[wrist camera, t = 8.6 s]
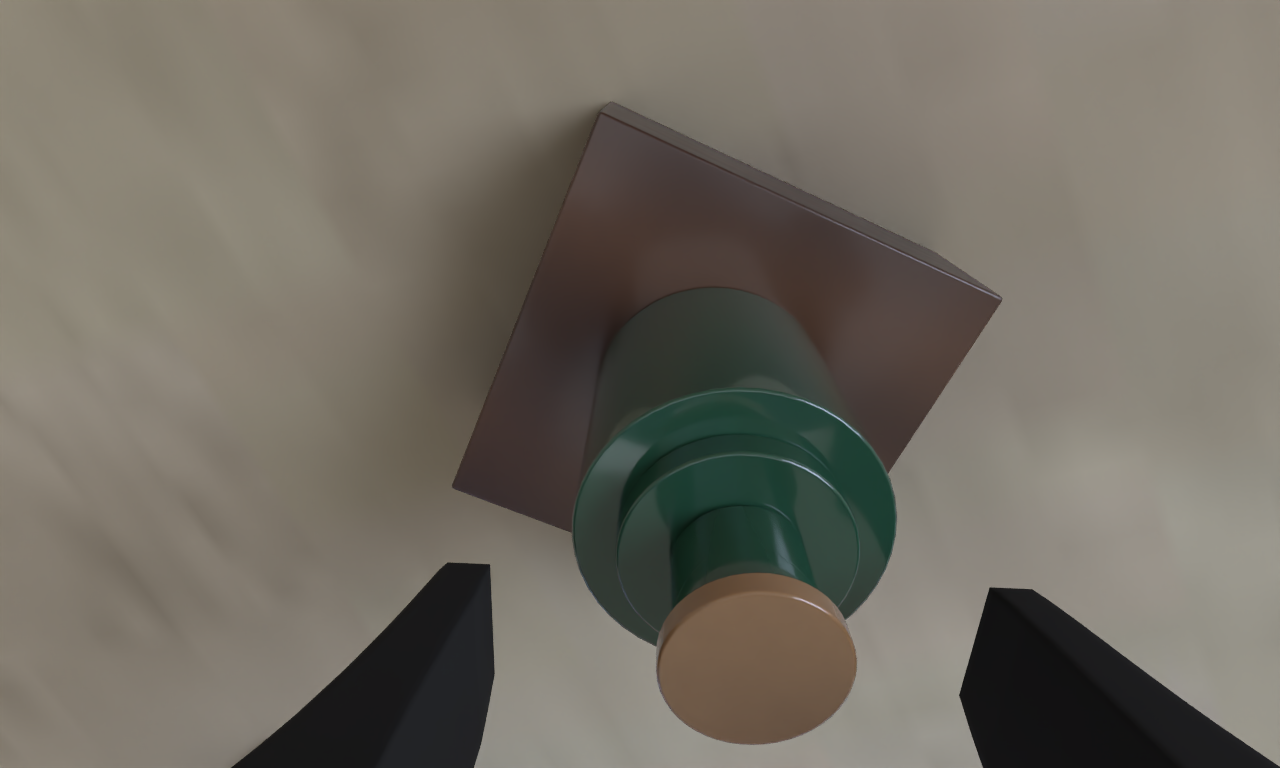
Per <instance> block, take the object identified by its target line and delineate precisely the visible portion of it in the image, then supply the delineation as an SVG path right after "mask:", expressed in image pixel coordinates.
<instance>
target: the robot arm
mask: <svg viewBox="0 0 1280 768" xmlns="http://www.w3.org/2000/svg"><path fill="white" fill-rule="evenodd" d="M494 674H495V673H494V649H493V625H492V601H491V577H490V564H469V563H447V564H445V565H444V566H443V567H442V568H441V569H440V570H439V571H438V572H437V573H436V574H435V575H434V576H433V577H432V579H431V580H430V581H429V582H428V583H427V584H426V585H425V586H424V588H423V589H422V590H421V591H420V592H419V593H418V594H417V595H416V596H415V597H414V599H413V600H412V601H411V602H410V603H409V604H408V605H407V606H406V607H405V608H404V609H403V610H402V612H401V613H400V614H399V615H398V616H397V617H396V618H395V619H394V620H393V621H392V622H391V623H390V624H389V625H388V626H387V628H386V629H385V630H384V631H383V632H382V633H381V634H380V635H379V636H378V637H377V638H376V639H375V640H374V641H373V642H372V643H371V644H370V645H369V646H368V647H367V648H366V649H365V650H364V651H363V652H362V653H361V654H360V655H359V656H358V657H357V658H356V659H355V660H354V661H353V662H352V663H351V664H350V665H349V666H348V667H347V668H346V669H345V670H344V671H343V672H342V673H341V674H339V675H338V676H337V677H336V678H335V679H334V680H333V681H332V682H331V683H330V684H329V685H327V686H326V687H325V688H324V689H323V690H322V691H321V692H320V693H319V694H318V695H317V696H316V697H314V698H313V699H312V700H311V701H310V702H309V703H308V704H307V705H306V706H305V707H304V708H302V709H301V710H300V711H299V712H298V713H297V714H296V715H295V716H294V717H292V718H291V719H290V720H289V721H288V722H287V723H285V724H284V725H283V726H282V727H281V728H279V729H278V730H277V731H276V732H275V733H274V734H272V735H271V736H270V737H269V738H268V739H266V740H265V741H264V742H263V743H262V744H260V745H259V746H258V747H257V748H255V749H254V750H253V751H252V752H250V753H249V754H248V755H247V756H245V757H244V758H243V759H242V760H240V761H239V762H238V763H236V764H235V765H234V766H233V767H231V768H474V765H475V762H476V759H477V755H478V752H479V749H480V745H481V742H482V737H483V732H484V727H485V722H486V717H487V712H488V706H489V701H490V696H491V690H492V685H493V680H494ZM959 696H960V699H961V702H962V705H963V709H964V712H965V715H966V718H967V722H968V725H969V728H970V731H971V734H972V737H973V740H974V743H975V746H976V749H977V752H978V755H979V758H980V760H981V763H982V766H983V768H1280V767H1279V766H1278V765H1276V764H1275V763H1273V762H1272V761H1270V760H1269V759H1267V758H1266V757H1264V756H1263V755H1261V754H1260V753H1259V752H1257V751H1256V750H1254V749H1253V748H1251V747H1250V746H1248V745H1247V744H1245V743H1244V742H1242V741H1241V740H1239V739H1238V738H1236V737H1235V736H1234V735H1232V734H1231V733H1229V732H1228V731H1226V730H1225V729H1223V728H1222V727H1220V726H1219V725H1217V724H1216V723H1215V722H1213V721H1212V720H1210V719H1209V718H1208V717H1206V716H1205V715H1203V714H1202V713H1201V712H1199V711H1198V710H1196V709H1195V708H1194V707H1192V706H1191V705H1189V704H1188V703H1187V702H1185V701H1184V700H1182V699H1181V698H1180V697H1178V696H1177V695H1176V694H1174V693H1173V692H1171V691H1170V690H1169V689H1167V688H1166V687H1165V686H1163V685H1162V684H1161V683H1159V682H1158V681H1156V680H1155V679H1154V678H1152V677H1151V676H1150V675H1148V674H1147V673H1146V672H1144V671H1143V670H1142V669H1140V668H1139V667H1138V666H1136V665H1135V664H1134V663H1132V662H1131V661H1130V660H1128V659H1127V658H1126V657H1124V656H1123V655H1122V654H1120V653H1119V652H1118V651H1116V650H1115V649H1114V648H1112V647H1111V646H1110V645H1108V644H1107V643H1106V642H1104V641H1103V640H1102V639H1100V638H1099V637H1098V636H1096V635H1095V634H1094V633H1092V632H1091V631H1090V630H1088V629H1087V628H1086V627H1084V626H1083V625H1082V624H1080V623H1079V622H1078V621H1076V620H1075V619H1074V618H1072V617H1071V616H1070V615H1068V614H1067V613H1066V612H1064V611H1063V610H1061V609H1060V608H1059V607H1057V606H1056V605H1054V604H1053V603H1052V602H1050V601H1049V600H1047V599H1046V598H1044V597H1043V596H1041V595H1040V594H1038V593H1037V592H1035V591H1034V590H1032V589H1012V588H989V592H988V595H987V599H986V602H985V606H984V610H983V613H982V617H981V620H980V624H979V627H978V631H977V634H976V638H975V641H974V645H973V648H972V652H971V656H970V659H969V663H968V666H967V670H966V673H965V677H964V680H963V684H962V687H961V691H960V694H959Z"/></svg>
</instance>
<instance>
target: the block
mask: <svg viewBox="0 0 1280 768" xmlns="http://www.w3.org/2000/svg"><path fill="white" fill-rule="evenodd" d="M711 287H714V288H730V289H735V290H741V291H745V292H749V293H752V294H755V295H758V296H760V297H762V298H765V299H767V300H769V301H771V302H773V303H775V304H776V305H778V306H779V307H781V308H782V309H784V310H785V311H787V312H788V313H789V314H790V315H791V316H792V317H794V318H795V319H796V320H797V321H798V322H799V323H800V325H801V326H802V327H803V328H804V329H805V330H806V332H807V333H808V335H809V336H810V338H811V339H812V341H813V342H814V344H815V346H816V347H817V349H818V351H819V353H820V354H821V356H822V358H823V360H824V361H825V363H826V365H827V367H828V368H829V370H830V372H831V374H832V375H833V377H834V379H835V380H836V382H837V384H838V386H839V387H840V389H841V391H842V393H843V394H844V396H845V398H846V400H847V401H848V403H849V405H850V407H851V408H852V410H853V412H854V414H855V415H856V417H857V419H858V420H859V422H860V424H861V426H862V427H863V429H864V431H865V433H866V434H867V436H868V438H869V440H870V441H871V443H872V445H873V447H874V448H875V450H876V452H877V454H878V455H879V457H880V459H881V461H882V462H883V464H884V467H885V469H886V471H887V473H889V471H890V470H891V468H892V467H893V465H894V464H895V462H896V461H897V459H898V458H899V456H900V455H901V453H902V452H903V450H904V448H905V447H906V445H907V444H908V442H909V441H910V439H911V438H912V436H913V435H914V433H915V432H916V430H917V429H918V427H919V426H920V424H921V423H922V421H923V420H924V418H925V417H926V415H927V414H928V412H929V411H930V409H931V408H932V406H933V404H934V403H935V401H936V400H937V398H938V397H939V395H940V394H941V392H942V391H943V389H944V388H945V386H946V385H947V383H948V382H949V380H950V379H951V377H952V376H953V374H954V373H955V371H956V370H957V368H958V367H959V365H960V364H961V362H962V361H963V359H964V357H965V356H966V354H967V353H968V351H969V350H970V348H971V347H972V345H973V344H974V342H975V341H976V339H977V338H978V336H979V335H980V333H981V332H982V330H983V329H984V327H985V326H986V324H987V323H988V321H989V320H990V318H991V317H992V315H993V313H994V312H995V310H996V309H997V307H998V306H999V304H1000V303H1001V301H1002V297H1001V296H999V295H998V294H996V293H995V292H993V291H992V290H991V289H989V288H988V287H986V286H985V285H983V284H982V283H980V282H979V281H977V280H976V279H974V278H973V277H971V276H970V275H968V274H967V273H965V272H964V271H962V270H961V269H959V268H958V267H956V266H955V265H953V264H952V263H950V262H949V261H947V260H946V259H944V258H943V257H941V256H940V255H938V254H937V253H935V252H933V251H931V250H929V249H927V248H925V247H923V246H920V245H918V244H916V243H914V242H912V241H910V240H908V239H905V238H903V237H901V236H899V235H897V234H895V233H893V232H890V231H888V230H886V229H884V228H882V227H880V226H878V225H875V224H873V223H871V222H869V221H867V220H865V219H863V218H860V217H858V216H856V215H854V214H852V213H850V212H848V211H846V210H843V209H841V208H839V207H837V206H835V205H833V204H831V203H828V202H826V201H824V200H822V199H820V198H818V197H816V196H813V195H811V194H809V193H807V192H805V191H803V190H801V189H798V188H796V187H794V186H792V185H790V184H788V183H786V182H783V181H781V180H779V179H777V178H775V177H773V176H771V175H768V174H766V173H764V172H762V171H760V170H758V169H756V168H753V167H751V166H749V165H747V164H745V163H743V162H741V161H738V160H736V159H734V158H732V157H730V156H728V155H726V154H723V153H721V152H719V151H717V150H715V149H713V148H711V147H708V146H706V145H704V144H702V143H700V142H698V141H696V140H693V139H691V138H689V137H687V136H685V135H683V134H681V133H678V132H676V131H674V130H672V129H670V128H668V127H666V126H663V125H661V124H659V123H657V122H655V121H653V120H651V119H648V118H646V117H644V116H642V115H640V114H638V113H636V112H633V111H631V110H629V109H627V108H625V107H623V106H621V105H618V104H616V103H614V102H610V103H609V104H607V105H606V106H605V107H604V108H603V109H602V110H601V111H600V112H599V113H598V114H597V117H596V120H595V122H594V125H593V127H592V130H591V132H590V135H589V137H588V140H587V142H586V145H585V148H584V150H583V153H582V155H581V158H580V160H579V163H578V165H577V168H576V171H575V173H574V176H573V178H572V181H571V183H570V186H569V188H568V191H567V193H566V196H565V199H564V201H563V204H562V206H561V209H560V211H559V214H558V216H557V219H556V221H555V224H554V227H553V229H552V232H551V234H550V237H549V239H548V242H547V244H546V247H545V250H544V252H543V255H542V257H541V260H540V262H539V265H538V267H537V270H536V272H535V275H534V278H533V280H532V283H531V285H530V288H529V290H528V293H527V295H526V298H525V301H524V303H523V306H522V308H521V311H520V313H519V316H518V318H517V321H516V323H515V326H514V329H513V331H512V334H511V336H510V339H509V341H508V344H507V346H506V349H505V351H504V354H503V357H502V359H501V362H500V364H499V367H498V369H497V372H496V374H495V377H494V380H493V382H492V385H491V387H490V390H489V392H488V395H487V397H486V400H485V402H484V405H483V408H482V410H481V413H480V415H479V418H478V420H477V423H476V425H475V428H474V431H473V433H472V436H471V438H470V441H469V443H468V446H467V448H466V451H465V453H464V456H463V459H462V461H461V464H460V466H459V469H458V471H457V474H456V476H455V479H454V481H453V484H452V488H453V489H456V490H459V491H461V492H464V493H467V494H469V495H472V496H475V497H477V498H480V499H483V500H485V501H488V502H491V503H493V504H496V505H499V506H501V507H504V508H507V509H510V510H512V511H515V512H518V513H520V514H523V515H526V516H528V517H531V518H534V519H536V520H539V521H542V522H544V523H547V524H550V525H552V526H555V527H558V528H561V529H563V530H566V531H569V532H571V533H572V516H573V510H574V504H575V498H576V492H577V487H578V481H579V475H580V470H581V464H582V458H583V453H584V447H585V442H586V436H587V430H588V425H589V419H590V413H591V408H592V402H593V397H594V391H595V385H596V380H597V374H598V370H599V367H600V364H601V361H602V358H603V356H604V354H605V352H606V350H607V348H608V346H609V345H610V343H611V342H612V340H613V339H614V337H615V335H616V334H617V333H618V332H619V331H620V330H621V328H622V327H623V326H624V325H625V324H626V323H627V322H628V321H629V320H630V319H631V318H632V317H634V316H635V315H636V314H637V313H638V312H640V311H641V310H643V309H644V308H646V307H647V306H649V305H650V304H652V303H654V302H656V301H658V300H660V299H662V298H664V297H667V296H670V295H673V294H676V293H679V292H682V291H687V290H692V289H698V288H711Z"/></svg>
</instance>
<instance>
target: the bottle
mask: <svg viewBox="0 0 1280 768" xmlns="http://www.w3.org/2000/svg"><path fill="white" fill-rule="evenodd" d="M896 524H897V511H896V501H895V495H894V491H893V488H892V484H891V480H890V478H889V476H888V473H887V471H886V469H885V467H884V464H883V462H882V461H881V459H880V457H879V455H878V454H877V452H876V450H875V448H874V447H873V445H872V443H871V441H870V440H869V438H868V436H867V434H866V433H865V431H864V429H863V427H862V426H861V424H860V422H859V420H858V419H857V417H856V415H855V414H854V412H853V410H852V408H851V407H850V405H849V403H848V401H847V400H846V398H845V396H844V394H843V393H842V391H841V389H840V387H839V386H838V384H837V382H836V380H835V379H834V377H833V375H832V374H831V372H830V370H829V368H828V367H827V365H826V363H825V361H824V360H823V358H822V356H821V354H820V353H819V351H818V349H817V347H816V346H815V344H814V342H813V341H812V339H811V338H810V336H809V335H808V333H807V332H806V330H805V329H804V328H803V327H802V326H801V325H800V323H799V322H798V321H797V320H796V319H795V318H794V317H792V316H791V315H790V314H789V313H788V312H787V311H785V310H784V309H782V308H781V307H779V306H778V305H776V304H775V303H773V302H771V301H769V300H767V299H765V298H762V297H760V296H758V295H755V294H752V293H749V292H745V291H741V290H735V289H730V288H714V287H711V288H698V289H692V290H687V291H682V292H679V293H676V294H673V295H670V296H667V297H664V298H662V299H660V300H658V301H656V302H654V303H652V304H650V305H649V306H647V307H646V308H644V309H643V310H641V311H640V312H638V313H637V314H636V315H635V316H634V317H632V318H631V319H630V320H629V321H628V322H627V323H626V324H625V325H624V326H623V327H622V328H621V330H620V331H619V332H618V333H617V334H616V335H615V337H614V339H613V340H612V342H611V343H610V345H609V346H608V348H607V350H606V352H605V354H604V356H603V358H602V361H601V364H600V367H599V370H598V374H597V380H596V385H595V391H594V397H593V402H592V408H591V413H590V419H589V425H588V430H587V436H586V442H585V447H584V453H583V458H582V464H581V470H580V475H579V481H578V487H577V492H576V498H575V504H574V510H573V516H572V541H573V548H574V554H575V557H576V561H577V564H578V567H579V570H580V573H581V575H582V577H583V579H584V581H585V583H586V585H587V587H588V589H589V590H590V592H591V593H592V595H593V596H594V597H595V599H596V600H597V602H598V603H599V604H600V605H601V607H602V608H603V609H604V610H605V611H606V612H607V613H608V614H609V615H610V616H611V617H612V618H613V619H614V620H615V621H616V622H618V623H619V624H620V625H621V626H622V627H623V628H625V629H626V630H628V631H629V632H631V633H632V634H634V635H635V636H637V637H638V638H640V639H642V640H644V641H646V642H648V643H650V644H652V645H654V646H657V648H656V673H657V682H658V685H659V689H660V692H661V694H662V696H663V698H664V700H665V702H666V703H667V705H668V706H669V708H670V709H671V711H672V712H673V713H674V714H675V715H676V716H677V717H678V718H679V719H680V720H681V721H682V722H684V723H685V724H686V725H688V726H689V727H691V728H692V729H694V730H695V731H697V732H699V733H701V734H703V735H705V736H708V737H711V738H714V739H716V740H720V741H724V742H728V743H735V744H746V745H759V744H770V743H777V742H781V741H785V740H789V739H792V738H795V737H798V736H801V735H803V734H805V733H807V732H809V731H811V730H813V729H815V728H816V727H818V726H820V725H821V724H823V723H824V722H825V721H826V720H828V719H829V718H830V717H831V716H832V715H833V714H834V713H835V712H836V711H837V710H838V709H839V708H840V707H841V706H842V704H843V703H844V702H845V700H846V699H847V697H848V695H849V693H850V691H851V689H852V686H853V684H854V680H855V675H856V670H857V657H856V650H855V647H854V644H853V640H852V638H851V635H850V632H849V629H848V626H847V623H846V621H845V620H846V619H847V618H849V617H850V616H851V615H852V614H853V613H854V612H855V611H856V610H857V609H858V608H859V607H860V606H861V605H862V604H863V603H864V602H865V601H866V600H867V598H868V597H869V595H870V594H871V593H872V591H873V590H874V589H875V587H876V586H877V584H878V582H879V581H880V579H881V577H882V575H883V573H884V571H885V570H886V567H887V564H888V562H889V559H890V556H891V554H892V550H893V545H894V540H895V536H896Z"/></svg>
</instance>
